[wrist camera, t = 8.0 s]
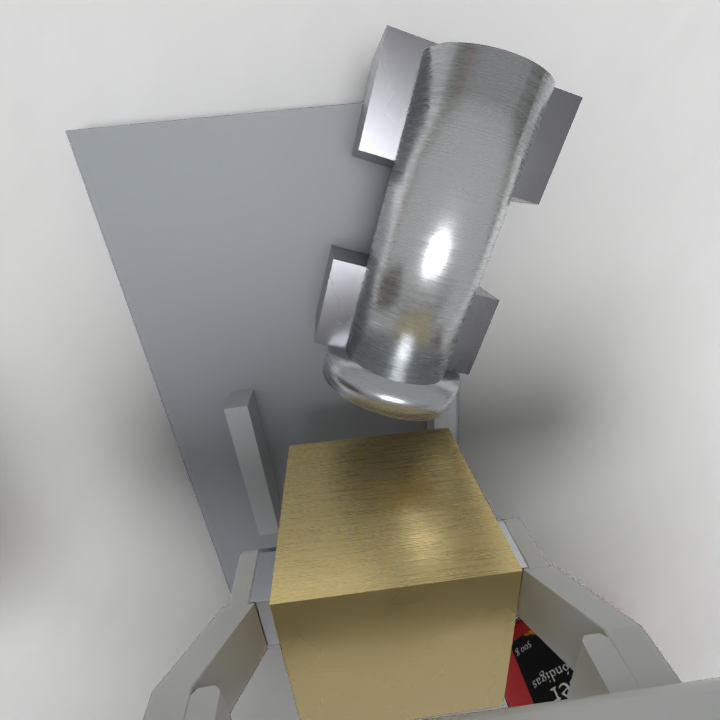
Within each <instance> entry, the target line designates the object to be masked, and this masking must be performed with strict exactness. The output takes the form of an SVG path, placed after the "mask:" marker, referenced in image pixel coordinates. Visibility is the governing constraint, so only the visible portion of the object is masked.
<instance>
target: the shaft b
mask: <svg viewBox="0 0 720 720" xmlns="http://www.w3.org/2000/svg"><path fill="white" fill-rule="evenodd" d="M581 100H582V97H580V96H577V95H574V94H572V93H569V92H566V91H563V90H561V89H558V88H555V81H554V79H553V77H552V76H551V75H550V74H549V73H548V72H547V71H546V70H545V69H544V68H542V67H541V66H540V65H538V64H536V63H535V62H533V61H531V60H529V59H527V58H525V57H522V56H520V55H517V54H515V53H512V52H509V51H506V50H502V49H499V48H495V47H490V46H486V45H480V44H473V43H461V42H449V43H441V44H436V43H434V42H431V41H428V40H426V39H423V38H420V37H417V36H415V35H412V34H409V33H407V32H404V31H401V30H399V29H396V28H393V27H390V26H388V25H387V27H386V29H385V31H384V34H383V36H382V39H381V41H380V43H379V46H378V48H377V51H376V53H375V55H374V58H373V61H372V66H371V70H370V75H369V79H368V83H367V88H366V92H365V97H364V101H363V106H362V110H361V115H360V119H359V124H358V128H357V133H356V137H355V142H354V146H353V150H352V155H351V156H353V157H357V158H360V159H363V160H367V161H370V162H373V163H377V164H380V165H383V166H387V167H390V168H392V171H391V175H390V179H389V182H388V186H387V190H386V194H385V198H384V201H383V205H382V209H381V213H380V217H379V220H378V224H377V228H376V232H375V235H374V239H373V243H372V247H371V251H370V254H365V253H361V252H357V251H353V250H349V249H345V248H342V247H338V246H334V245H331V249H330V253H329V258H328V262H327V267H326V271H325V276H324V280H323V285H322V289H321V293H320V298H319V302H318V307H317V311H316V318H315V339H314V343H318V344H323V345H328V347H327V351H326V355H325V359H324V363H323V368H322V373H323V376H324V379H325V380H326V382H327V383H328V385H329V386H330V387H331V388H332V389H333V390H334V391H335V392H337V393H338V394H339V395H341V396H342V397H343V398H345V399H346V400H348V401H350V402H351V403H353V404H355V405H357V406H359V407H361V408H364V409H366V410H368V411H371V412H374V413H376V414H379V415H383V416H386V417H390V418H395V419H400V420H408V421H428V420H434V419H438V418H440V417H442V416H444V415H445V414H447V413H448V411H449V410H450V407H451V405H452V402H453V400H454V398H455V395H456V393H457V390H458V388H459V385H460V377H459V375H458V373H457V372H459V373H464V374H469V373H470V370H471V368H472V365H473V363H474V361H475V358H476V356H477V353H478V351H479V348H480V346H481V343H482V341H483V339H484V336H485V334H486V331H487V329H488V326H489V324H490V322H491V319H492V317H493V314H494V312H495V309H496V307H497V305H498V302H499V300H498V299H497V298H495V297H494V296H492V295H491V294H489V293H488V292H486V291H485V290H483V289H482V288H480V287H479V286H478V285H479V283H480V280H481V278H482V275H483V272H484V270H485V267H486V264H487V262H488V259H489V257H490V254H491V251H492V249H493V246H494V244H495V241H496V238H497V236H498V233H499V231H500V228H501V225H502V223H503V220H504V217H505V215H506V212H507V210H508V207H509V204H510V202H520V203H529V204H538V205H539V202H540V200H541V197H542V195H543V192H544V190H545V188H546V185H547V183H548V180H549V178H550V175H551V173H552V171H553V168H554V166H555V163H556V161H557V158H558V156H559V154H560V151H561V149H562V146H563V144H564V141H565V139H566V136H567V134H568V132H569V129H570V127H571V124H572V122H573V119H574V117H575V115H576V112H577V110H578V107H579V105H580V102H581Z"/></svg>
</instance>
